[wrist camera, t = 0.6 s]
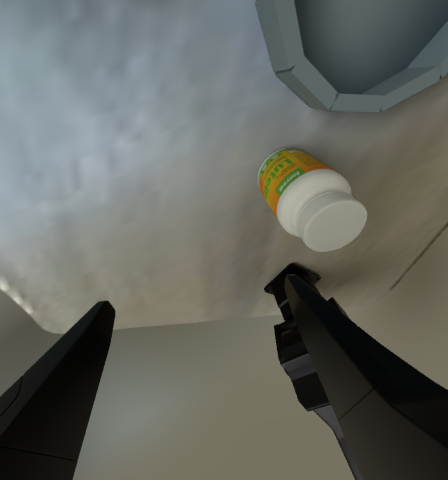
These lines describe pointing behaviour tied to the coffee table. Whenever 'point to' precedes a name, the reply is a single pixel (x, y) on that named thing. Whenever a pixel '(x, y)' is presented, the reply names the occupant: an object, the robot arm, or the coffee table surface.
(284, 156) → the supplement bottle
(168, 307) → the coffee table surface
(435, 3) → the slate bowl
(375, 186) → the coffee table surface
